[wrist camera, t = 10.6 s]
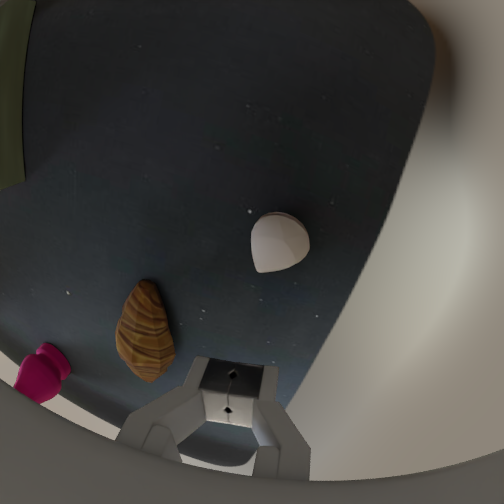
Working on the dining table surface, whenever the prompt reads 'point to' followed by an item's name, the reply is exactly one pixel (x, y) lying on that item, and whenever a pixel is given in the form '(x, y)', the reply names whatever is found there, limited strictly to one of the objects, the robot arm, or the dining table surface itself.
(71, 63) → the dining table surface
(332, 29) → the dining table surface
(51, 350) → the pepper mill
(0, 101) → the cupboard door
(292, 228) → the clam shell
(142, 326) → the croissant
